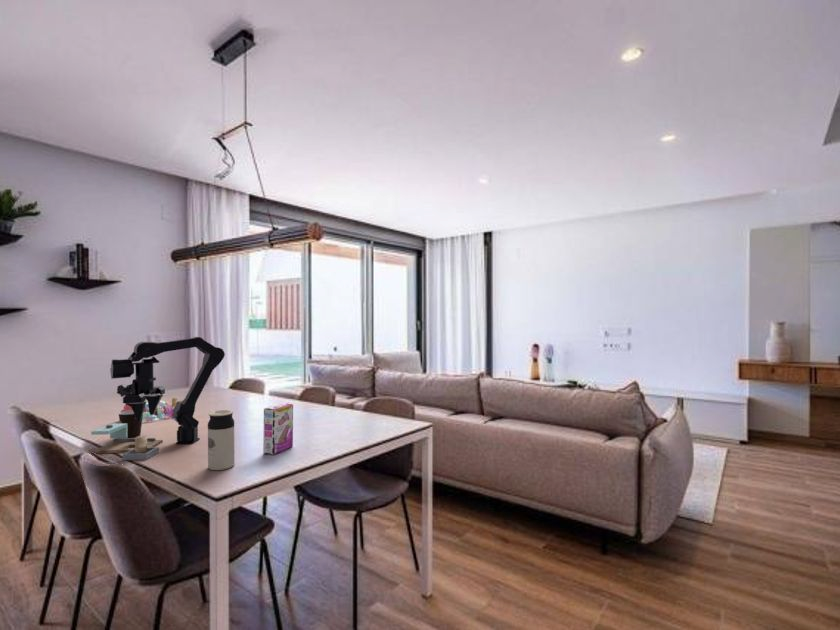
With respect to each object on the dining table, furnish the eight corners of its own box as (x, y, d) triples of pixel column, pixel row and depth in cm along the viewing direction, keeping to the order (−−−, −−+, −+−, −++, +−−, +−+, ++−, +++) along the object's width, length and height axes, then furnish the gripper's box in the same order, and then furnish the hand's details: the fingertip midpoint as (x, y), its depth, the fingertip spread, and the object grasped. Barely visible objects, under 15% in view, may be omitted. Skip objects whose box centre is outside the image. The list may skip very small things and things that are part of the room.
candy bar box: (274, 455, 158) (273, 409, 158) (262, 454, 160) (262, 408, 160) (294, 446, 169) (293, 403, 169) (283, 445, 171) (282, 402, 170)
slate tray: (158, 452, 162) (158, 447, 162) (146, 459, 154) (146, 453, 154) (136, 452, 162) (136, 447, 162) (122, 460, 154) (122, 454, 154)
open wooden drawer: (162, 442, 175) (162, 437, 175) (144, 452, 163) (144, 446, 163) (115, 443, 174) (115, 438, 174) (93, 453, 162) (93, 447, 162)
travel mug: (230, 461, 153) (229, 408, 152) (238, 467, 146) (237, 412, 146) (205, 466, 147) (204, 411, 147) (212, 472, 141) (211, 415, 141)
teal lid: (127, 437, 174) (127, 421, 174) (108, 446, 163) (108, 428, 163) (111, 437, 174) (111, 421, 174) (91, 446, 162) (91, 429, 162)
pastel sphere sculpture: (144, 412, 231) (144, 394, 231) (190, 412, 231) (190, 394, 231) (111, 424, 206) (111, 404, 206) (162, 424, 206) (162, 404, 206)
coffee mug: (121, 434, 187) (121, 410, 187) (145, 432, 190) (145, 409, 190) (113, 442, 176) (113, 416, 176) (139, 439, 179) (139, 414, 179)
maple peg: (149, 452, 160) (149, 436, 160) (143, 456, 157) (143, 438, 157) (139, 453, 160) (138, 436, 160) (132, 456, 156) (132, 439, 156)
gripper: (135, 372, 175) (136, 412, 175) (106, 380, 156) (107, 424, 156) (165, 372, 176) (165, 411, 176) (139, 379, 157) (140, 423, 157)
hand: (145, 417), depth 166 cm, fingers open, 9 cm apart
